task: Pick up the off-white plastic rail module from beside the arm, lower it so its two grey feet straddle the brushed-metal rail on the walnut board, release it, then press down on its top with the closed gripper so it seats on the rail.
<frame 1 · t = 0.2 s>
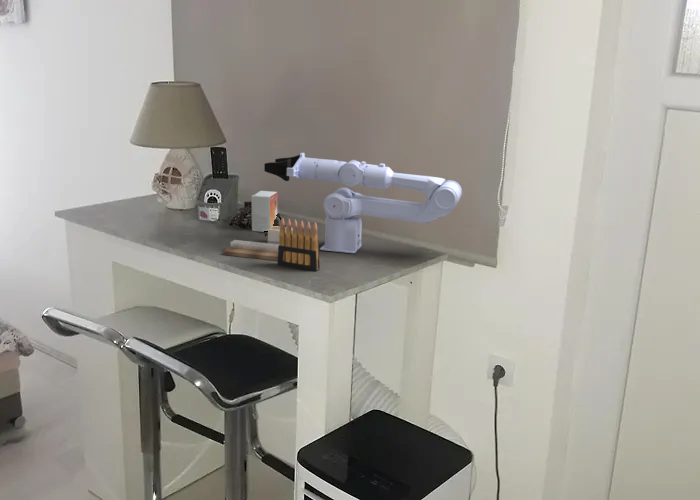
hand: (270, 165, 185), 21 cm above the countertop, tool horizontal, fingers open, 7 cm apart
module: (281, 243, 189), on the countertop
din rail: (264, 247, 179), on the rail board, point 1 cm above the countertop
ammunition clip: (298, 268, 170), on the countertop
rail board: (264, 253, 180), on the countertop
small box: (265, 229, 204), on the countertop
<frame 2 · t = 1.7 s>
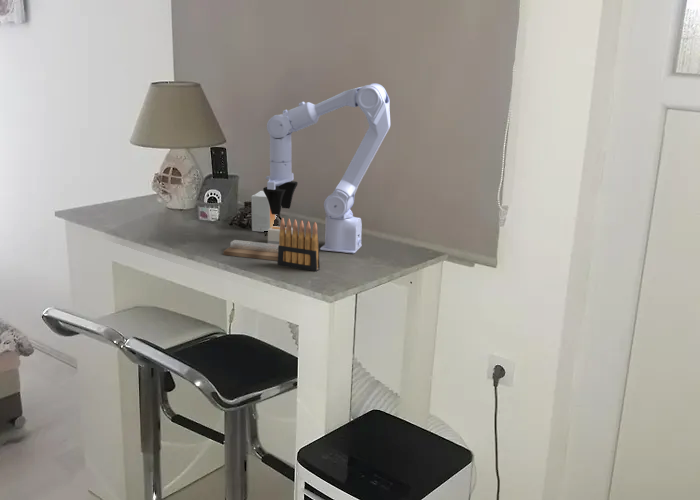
hand: (280, 211, 187), 9 cm above the countertop, tool pointing down, fingers open, 7 cm apart
nothing on the countertop moved.
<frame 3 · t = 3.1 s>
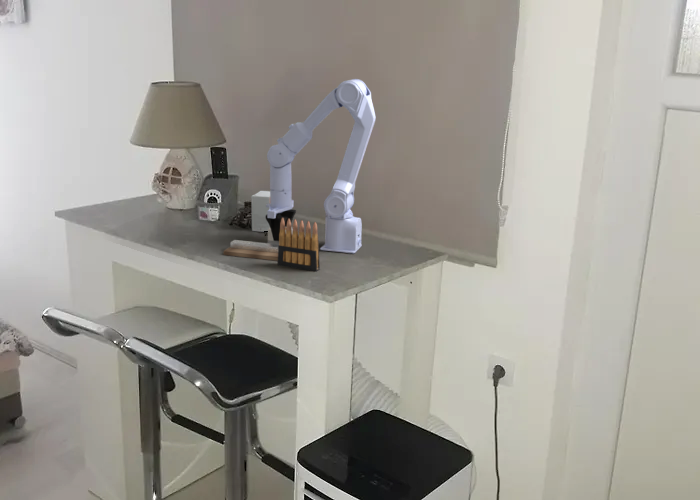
hand: (281, 238, 189), 1 cm above the countertop, tool pointing down, fingers closed on module, 4 cm apart
module: (281, 243, 189), on the countertop, touching gripper
everything else where it was.
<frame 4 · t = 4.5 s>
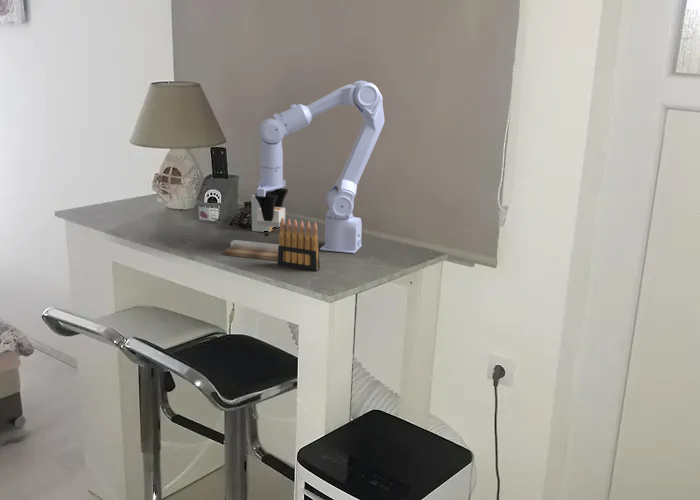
hand: (271, 218, 181), 8 cm above the countertop, tool pointing down, fingers closed on module, 4 cm apart
module: (271, 224, 181), point 7 cm above the countertop, touching gripper
everything else where it was.
when the fingers open (3 cm above the countertop, at t = 6.2 s): module stays where it is, resting on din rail.
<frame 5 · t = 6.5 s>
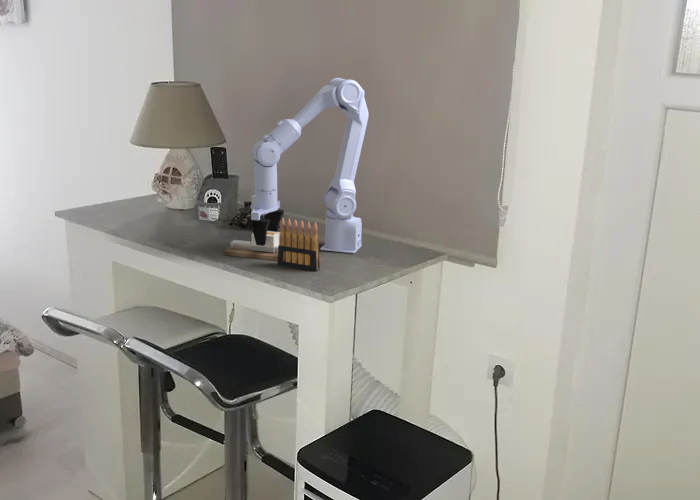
hand: (266, 241, 178), 3 cm above the countertop, tool pointing down, fingers open, 7 cm apart
module: (266, 248, 179), point 1 cm above the countertop, touching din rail
everything else where it was.
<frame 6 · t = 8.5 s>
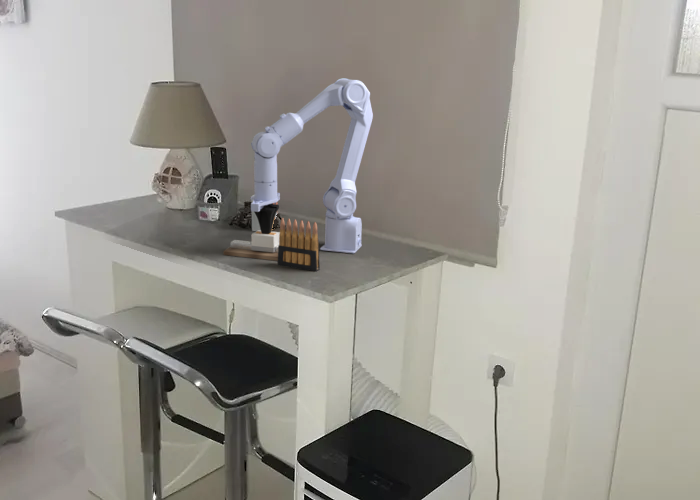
hand: (266, 233, 178), 6 cm above the countertop, tool pointing down, fingers closed, pressing on module
module: (266, 249, 179), point 1 cm above the countertop, touching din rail, gripper
everything else where it was.
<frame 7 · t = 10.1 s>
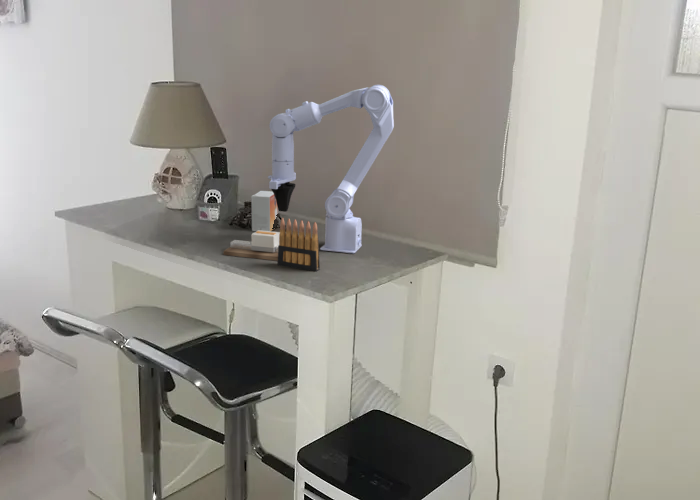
hand: (283, 210, 185), 9 cm above the countertop, tool pointing down, fingers closed
module: (266, 248, 179), point 1 cm above the countertop, touching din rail
everything else where it was.
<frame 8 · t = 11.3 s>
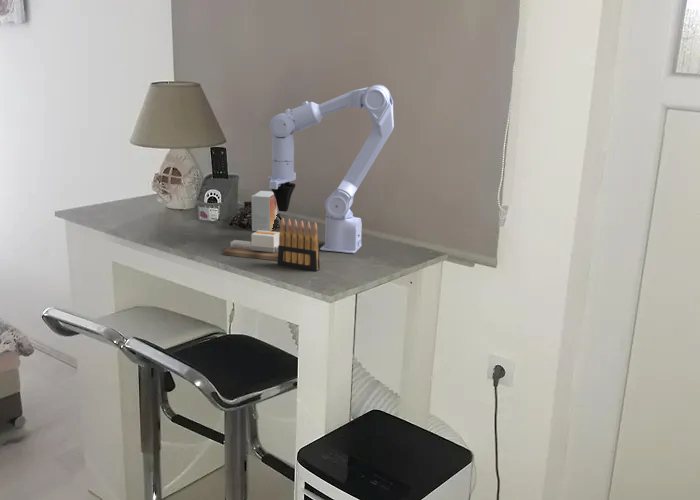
hand: (283, 210, 185), 9 cm above the countertop, tool pointing down, fingers closed
nothing on the countertop moved.
at the end: module inside the target area on the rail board (0.2 cm from its centre), point 1.3 cm above the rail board's base; module tilted 0°; the gripper is holding nothing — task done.
